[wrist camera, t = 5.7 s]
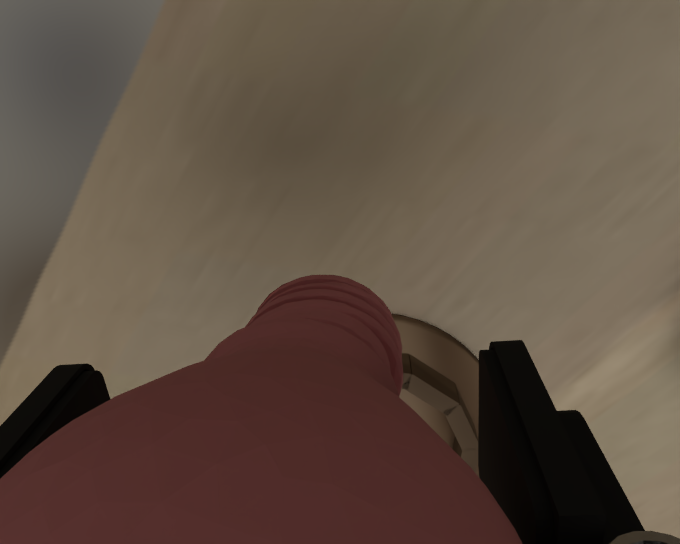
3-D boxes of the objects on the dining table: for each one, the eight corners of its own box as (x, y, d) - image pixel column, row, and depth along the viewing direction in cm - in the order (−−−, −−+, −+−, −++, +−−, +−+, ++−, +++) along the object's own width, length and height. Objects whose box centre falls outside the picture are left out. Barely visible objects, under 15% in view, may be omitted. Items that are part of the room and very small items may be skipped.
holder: (443, 270, 30) (450, 294, 28) (534, 479, 36) (548, 517, 33) (193, 370, 34) (177, 400, 31) (311, 548, 39) (307, 587, 36)
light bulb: (115, 280, 14) (-828, 1223, 3) (357, 124, 12) (219, 1096, 1) (280, 471, 16) (88, 1412, 5) (505, 363, 14) (948, 1475, 3)
